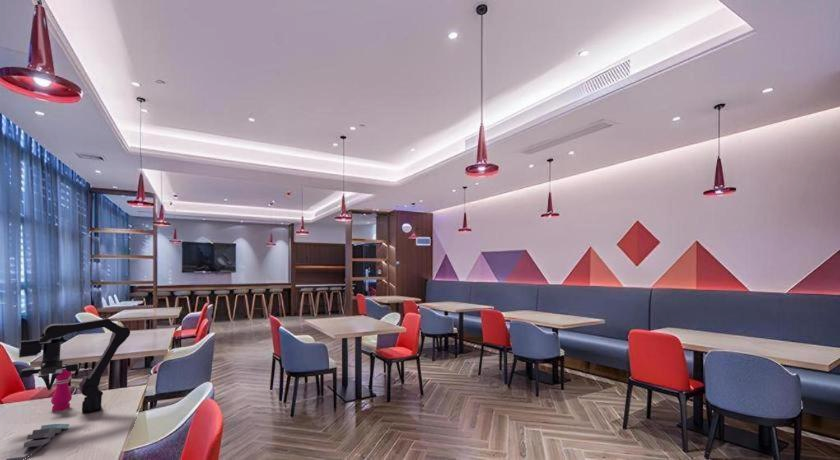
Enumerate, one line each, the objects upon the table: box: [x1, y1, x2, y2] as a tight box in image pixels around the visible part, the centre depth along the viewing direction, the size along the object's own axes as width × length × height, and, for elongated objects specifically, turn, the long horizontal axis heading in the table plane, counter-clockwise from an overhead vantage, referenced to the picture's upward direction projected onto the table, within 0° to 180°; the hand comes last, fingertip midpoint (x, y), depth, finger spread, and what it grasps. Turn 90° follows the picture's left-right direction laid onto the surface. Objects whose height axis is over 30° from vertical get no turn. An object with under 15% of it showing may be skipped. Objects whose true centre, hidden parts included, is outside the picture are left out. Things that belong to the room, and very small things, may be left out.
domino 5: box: [40, 423, 70, 430], centre depth 160 cm, size 2×5×10 cm
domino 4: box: [31, 428, 63, 434], centre depth 156 cm, size 2×5×10 cm
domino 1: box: [5, 445, 43, 460], centre depth 142 cm, size 2×5×10 cm
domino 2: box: [26, 433, 56, 441], centre depth 151 cm, size 2×5×10 cm
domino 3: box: [22, 437, 52, 448], centre depth 147 cm, size 2×5×10 cm
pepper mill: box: [50, 364, 73, 412], centre depth 188 cm, size 7×7×20 cm
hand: (49, 389), depth 174 cm, fingers closed
